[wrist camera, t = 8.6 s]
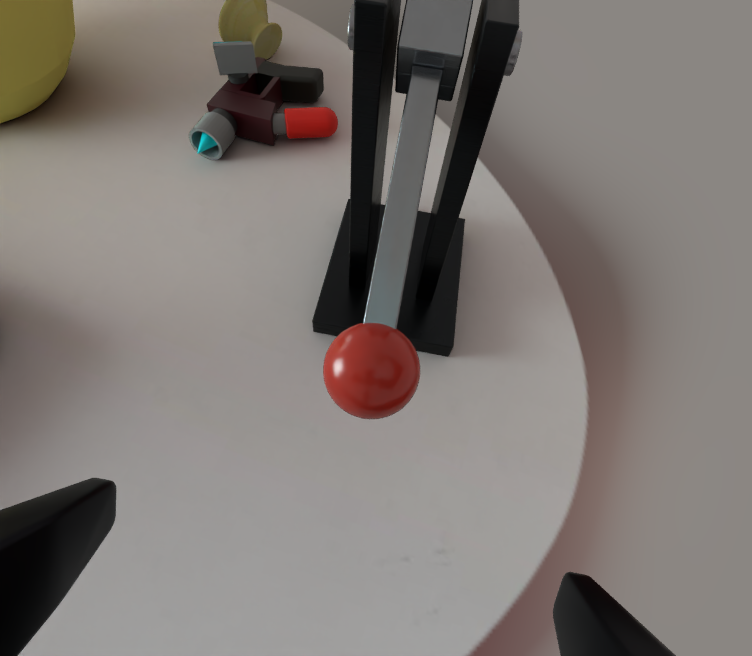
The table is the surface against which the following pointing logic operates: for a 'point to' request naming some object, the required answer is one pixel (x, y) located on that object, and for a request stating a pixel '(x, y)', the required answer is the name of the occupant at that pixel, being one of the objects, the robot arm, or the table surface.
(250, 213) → the table surface
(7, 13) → the vase
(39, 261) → the table surface
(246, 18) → the knob
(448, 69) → the tap lever
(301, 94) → the toy gun
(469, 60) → the bracket
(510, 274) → the table surface
